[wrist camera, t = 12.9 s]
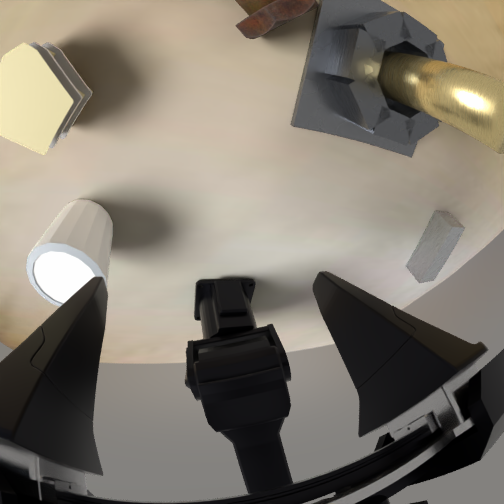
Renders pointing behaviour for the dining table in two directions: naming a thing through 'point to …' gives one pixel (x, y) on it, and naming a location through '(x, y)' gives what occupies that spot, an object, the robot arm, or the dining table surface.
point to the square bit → (435, 246)
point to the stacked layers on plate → (39, 96)
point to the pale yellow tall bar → (447, 94)
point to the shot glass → (71, 251)
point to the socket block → (362, 74)
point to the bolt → (270, 14)
